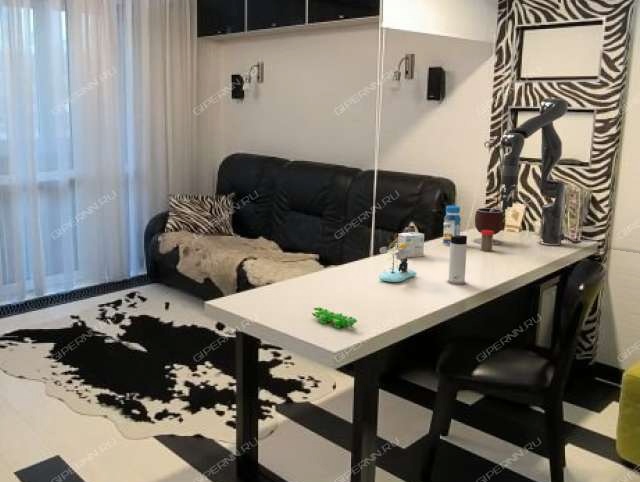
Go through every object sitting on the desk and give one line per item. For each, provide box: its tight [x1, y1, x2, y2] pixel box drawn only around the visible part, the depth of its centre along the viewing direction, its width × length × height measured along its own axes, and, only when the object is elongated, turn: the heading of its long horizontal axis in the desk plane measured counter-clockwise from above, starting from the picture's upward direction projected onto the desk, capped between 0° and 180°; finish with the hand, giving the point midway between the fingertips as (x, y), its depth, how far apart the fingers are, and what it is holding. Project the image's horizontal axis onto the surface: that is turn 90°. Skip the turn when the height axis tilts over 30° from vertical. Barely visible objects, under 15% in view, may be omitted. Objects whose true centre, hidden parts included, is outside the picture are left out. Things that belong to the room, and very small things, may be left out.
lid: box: [480, 230, 495, 236], centre depth 300 cm, size 6×6×2 cm
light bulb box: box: [397, 231, 425, 258], centre depth 291 cm, size 11×7×11 cm, turn 108°
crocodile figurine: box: [311, 306, 358, 329], centre depth 202 cm, size 7×18×4 cm, turn 44°
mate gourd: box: [474, 206, 504, 246], centre depth 317 cm, size 16×14×20 cm
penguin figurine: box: [378, 243, 417, 283], centre depth 253 cm, size 20×11×15 cm, turn 133°
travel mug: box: [448, 234, 468, 286], centre depth 246 cm, size 6×7×20 cm
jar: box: [480, 234, 494, 252], centre depth 301 cm, size 5×5×9 cm
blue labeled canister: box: [442, 205, 462, 247], centre depth 313 cm, size 8×8×20 cm
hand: (507, 208), depth 292 cm, fingers open, 8 cm apart
